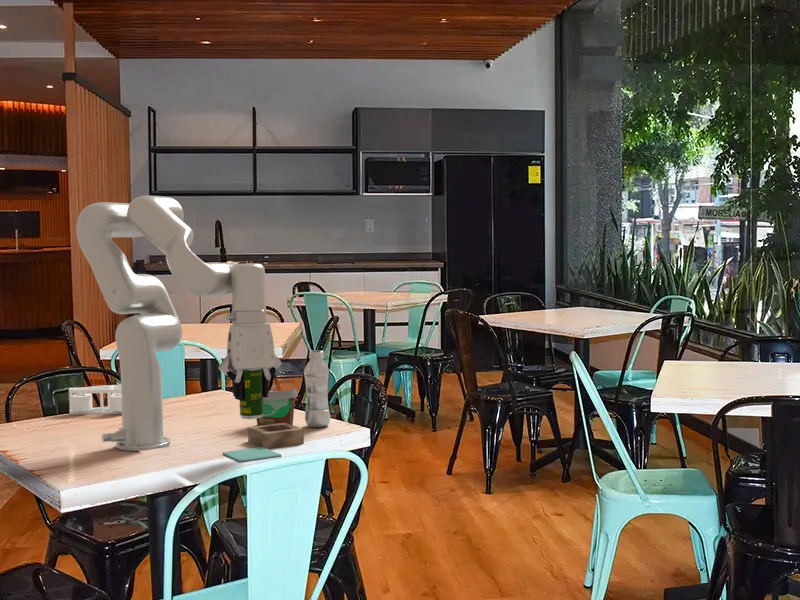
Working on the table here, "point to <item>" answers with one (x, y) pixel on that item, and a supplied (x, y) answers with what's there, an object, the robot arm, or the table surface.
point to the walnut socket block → (275, 435)
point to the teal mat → (251, 454)
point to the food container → (278, 407)
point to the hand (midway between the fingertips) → (251, 397)
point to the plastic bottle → (317, 390)
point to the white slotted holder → (83, 401)
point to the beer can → (252, 394)
